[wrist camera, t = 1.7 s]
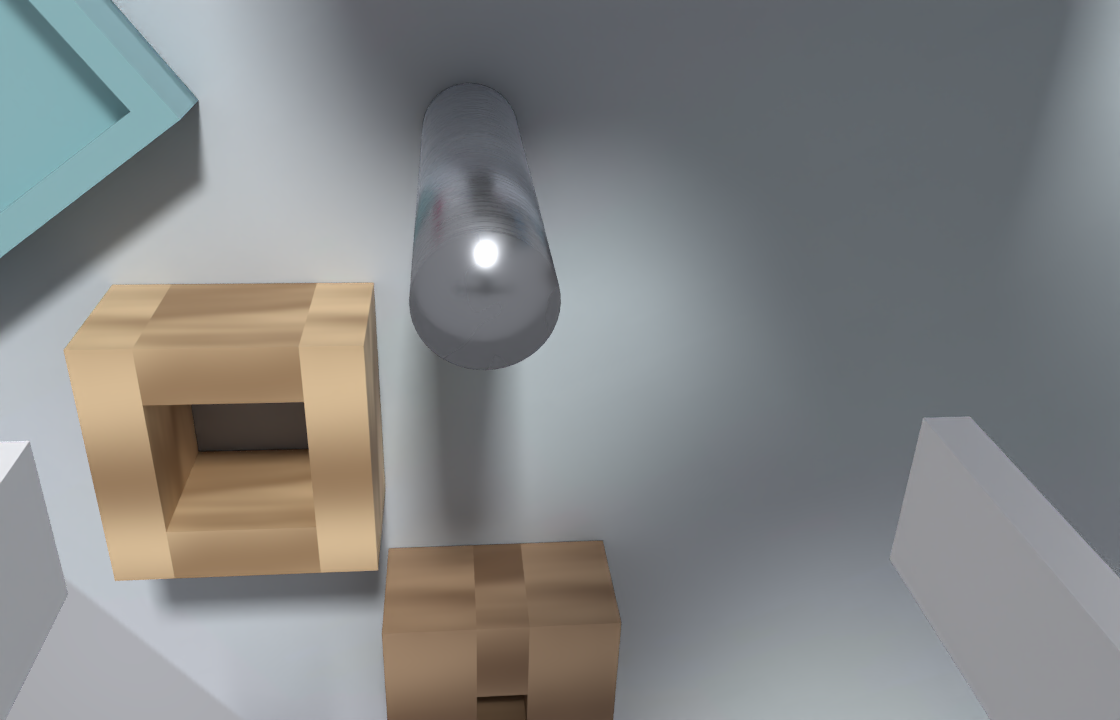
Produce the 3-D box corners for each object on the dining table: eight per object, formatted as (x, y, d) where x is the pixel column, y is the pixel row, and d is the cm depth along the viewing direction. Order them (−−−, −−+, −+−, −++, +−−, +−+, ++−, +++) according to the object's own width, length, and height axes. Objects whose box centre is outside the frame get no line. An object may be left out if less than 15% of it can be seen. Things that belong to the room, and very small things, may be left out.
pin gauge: (421, 82, 32) (406, 232, 20) (518, 83, 33) (563, 231, 20) (423, 177, 34) (412, 371, 21) (517, 177, 34) (558, 369, 22)
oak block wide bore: (112, 284, 34) (63, 350, 30) (373, 282, 35) (363, 345, 31) (152, 496, 38) (115, 580, 34) (385, 489, 39) (377, 570, 35)
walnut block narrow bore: (388, 548, 41) (382, 633, 36) (602, 540, 42) (621, 622, 37) (397, 704, 45) (392, 798, 41) (592, 694, 46) (607, 784, 42)
